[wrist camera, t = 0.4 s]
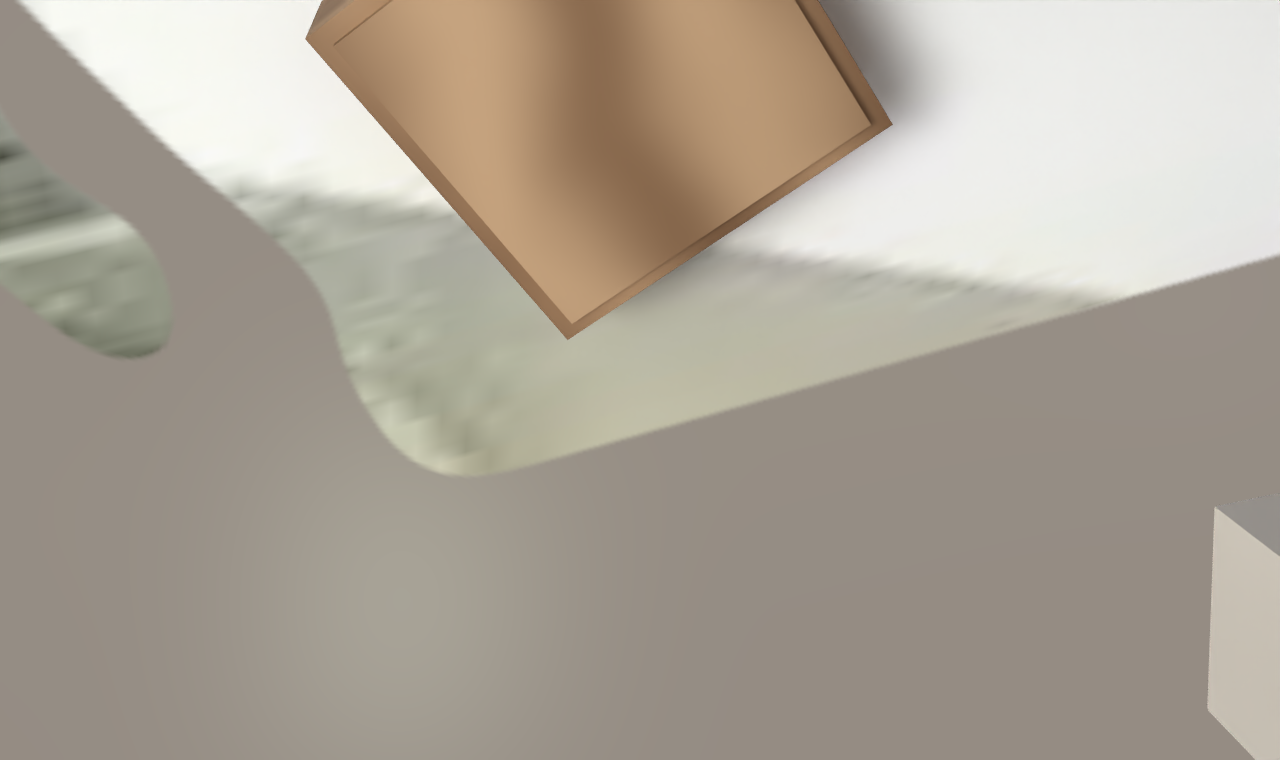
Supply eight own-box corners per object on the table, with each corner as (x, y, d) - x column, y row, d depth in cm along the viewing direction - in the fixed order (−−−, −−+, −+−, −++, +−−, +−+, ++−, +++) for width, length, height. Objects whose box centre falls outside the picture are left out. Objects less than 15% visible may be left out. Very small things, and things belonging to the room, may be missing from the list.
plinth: (652, -260, 30) (671, -246, 27) (859, 82, 36) (895, 128, 33) (321, 1, 33) (303, 42, 30) (561, 284, 38) (568, 345, 35)
